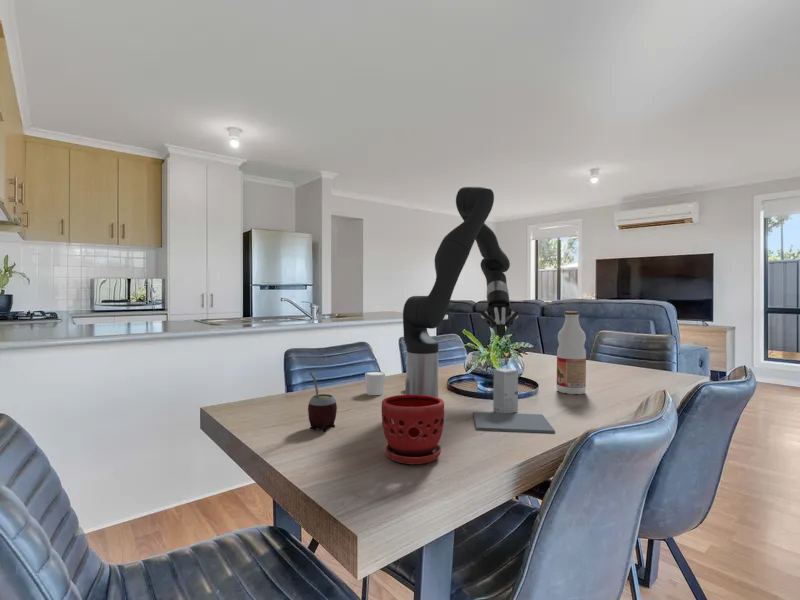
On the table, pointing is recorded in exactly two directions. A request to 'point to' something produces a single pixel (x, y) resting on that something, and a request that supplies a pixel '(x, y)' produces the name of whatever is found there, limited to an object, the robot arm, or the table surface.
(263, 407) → the table surface
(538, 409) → the table surface
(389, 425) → the plant pot
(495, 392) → the skincare box
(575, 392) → the fruit juice
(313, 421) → the mate gourd
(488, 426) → the slate mat
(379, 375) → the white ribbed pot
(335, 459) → the table surface
